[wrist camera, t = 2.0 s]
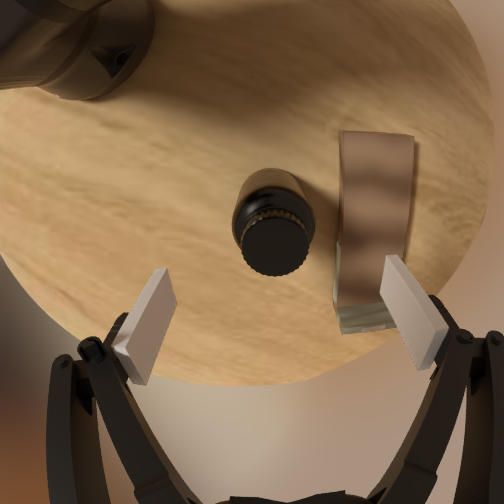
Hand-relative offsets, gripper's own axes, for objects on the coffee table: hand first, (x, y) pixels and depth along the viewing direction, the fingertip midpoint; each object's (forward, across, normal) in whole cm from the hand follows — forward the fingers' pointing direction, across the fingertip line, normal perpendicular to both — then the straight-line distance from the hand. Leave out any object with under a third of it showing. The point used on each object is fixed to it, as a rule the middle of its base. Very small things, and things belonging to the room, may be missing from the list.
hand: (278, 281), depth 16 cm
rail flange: (+16, +11, -4) cm, 20 cm away
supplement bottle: (+16, 0, 0) cm, 16 cm away
